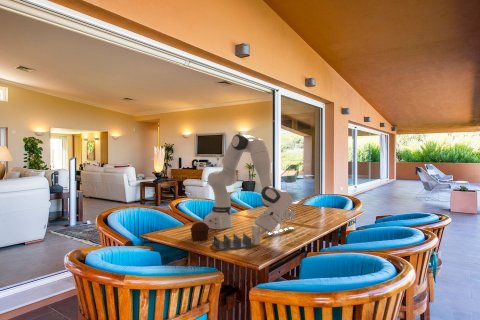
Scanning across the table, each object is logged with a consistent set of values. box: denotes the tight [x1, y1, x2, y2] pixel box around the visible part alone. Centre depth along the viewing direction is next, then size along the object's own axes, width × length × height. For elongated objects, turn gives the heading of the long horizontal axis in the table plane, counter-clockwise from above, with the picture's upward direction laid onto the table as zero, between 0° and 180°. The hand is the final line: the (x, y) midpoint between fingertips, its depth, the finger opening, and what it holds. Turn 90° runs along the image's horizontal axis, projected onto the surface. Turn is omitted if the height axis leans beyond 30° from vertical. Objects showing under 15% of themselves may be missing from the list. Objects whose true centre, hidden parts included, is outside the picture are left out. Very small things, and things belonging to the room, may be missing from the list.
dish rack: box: [212, 232, 253, 252], centre depth 172 cm, size 19×14×5 cm
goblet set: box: [265, 209, 296, 235], centre depth 207 cm, size 28×6×13 cm, turn 133°
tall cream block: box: [251, 224, 261, 246], centre depth 176 cm, size 3×5×10 cm, turn 17°
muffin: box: [189, 221, 210, 242], centre depth 184 cm, size 12×11×10 cm
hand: (255, 233), depth 176 cm, fingers open, 8 cm apart
